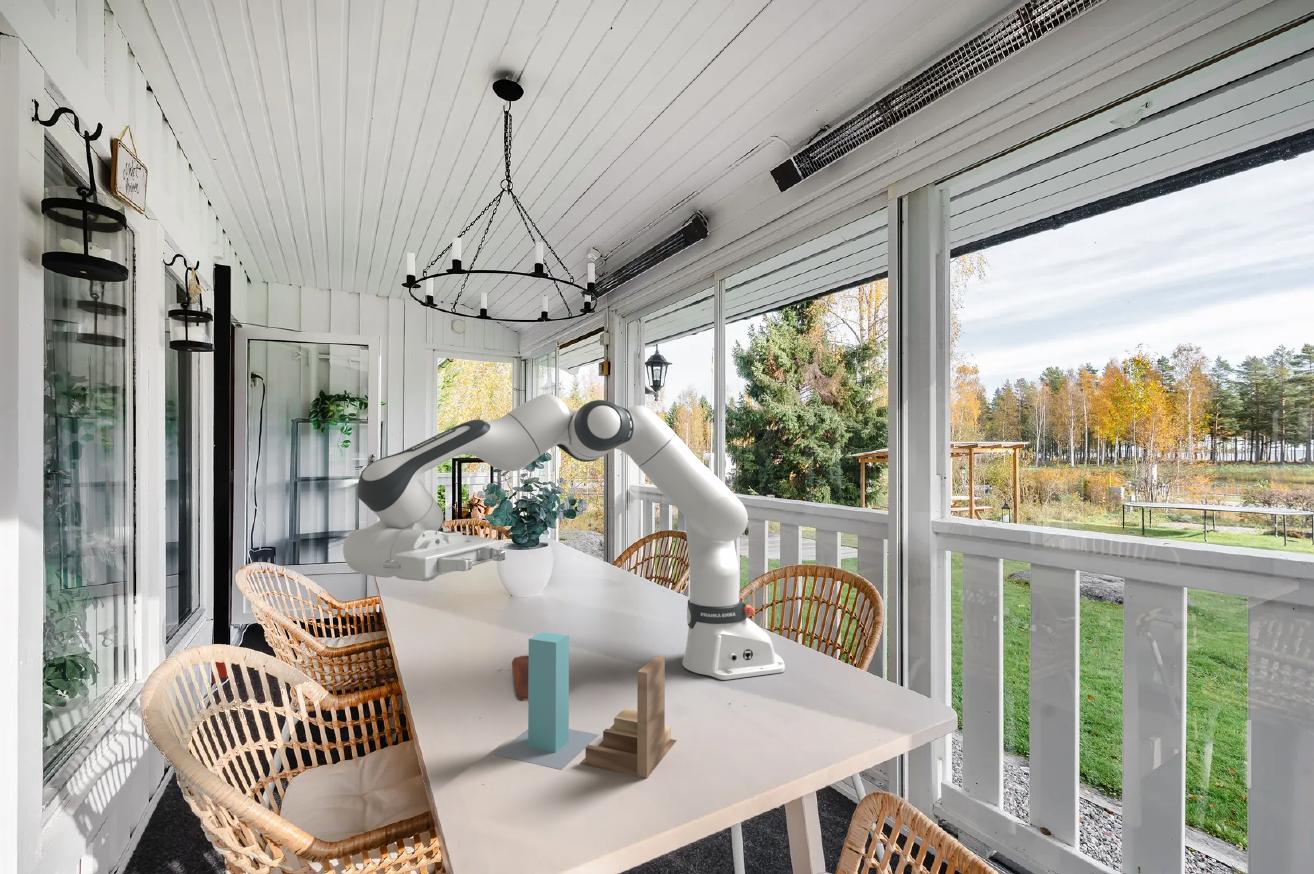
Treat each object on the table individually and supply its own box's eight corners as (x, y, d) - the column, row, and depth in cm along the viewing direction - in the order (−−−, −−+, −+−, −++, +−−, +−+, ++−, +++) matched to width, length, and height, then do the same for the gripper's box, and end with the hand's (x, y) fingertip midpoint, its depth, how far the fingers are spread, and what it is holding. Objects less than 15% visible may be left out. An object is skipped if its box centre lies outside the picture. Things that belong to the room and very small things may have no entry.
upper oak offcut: (624, 720, 103) (624, 708, 103) (663, 727, 101) (663, 714, 101) (614, 730, 100) (614, 717, 100) (654, 737, 97) (654, 725, 97)
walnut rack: (615, 734, 105) (615, 639, 105) (676, 746, 101) (676, 646, 101) (579, 770, 93) (579, 662, 93) (646, 785, 89) (647, 672, 89)
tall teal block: (541, 735, 102) (542, 631, 102) (568, 741, 100) (568, 635, 100) (528, 746, 98) (528, 638, 99) (555, 752, 96) (556, 642, 97)
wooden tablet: (570, 699, 121) (570, 690, 121) (518, 705, 118) (518, 696, 118) (553, 654, 147) (553, 647, 147) (510, 658, 144) (510, 651, 144)
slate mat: (536, 728, 107) (536, 722, 107) (599, 740, 103) (599, 734, 103) (493, 760, 96) (494, 754, 96) (561, 776, 91) (561, 769, 91)
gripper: (375, 546, 100) (444, 551, 95) (460, 529, 119) (521, 533, 113) (375, 585, 100) (444, 592, 94) (460, 563, 119) (521, 567, 113)
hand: (487, 560), depth 104 cm, fingers open, 8 cm apart
